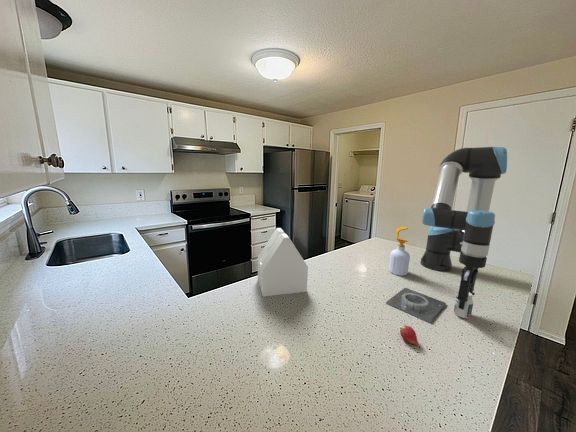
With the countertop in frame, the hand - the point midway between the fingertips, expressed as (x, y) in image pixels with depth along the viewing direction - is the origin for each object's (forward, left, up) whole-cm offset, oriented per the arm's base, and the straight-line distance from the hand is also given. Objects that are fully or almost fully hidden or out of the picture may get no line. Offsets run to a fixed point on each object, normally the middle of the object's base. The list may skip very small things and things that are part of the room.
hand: (462, 312), depth 88 cm
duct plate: (+6, -14, -1) cm, 15 cm away
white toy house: (+38, -60, -1) cm, 71 cm away
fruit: (+30, -8, -1) cm, 31 cm away
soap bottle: (-19, -32, -1) cm, 37 cm away
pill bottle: (0, 0, -1) cm, 1 cm away
